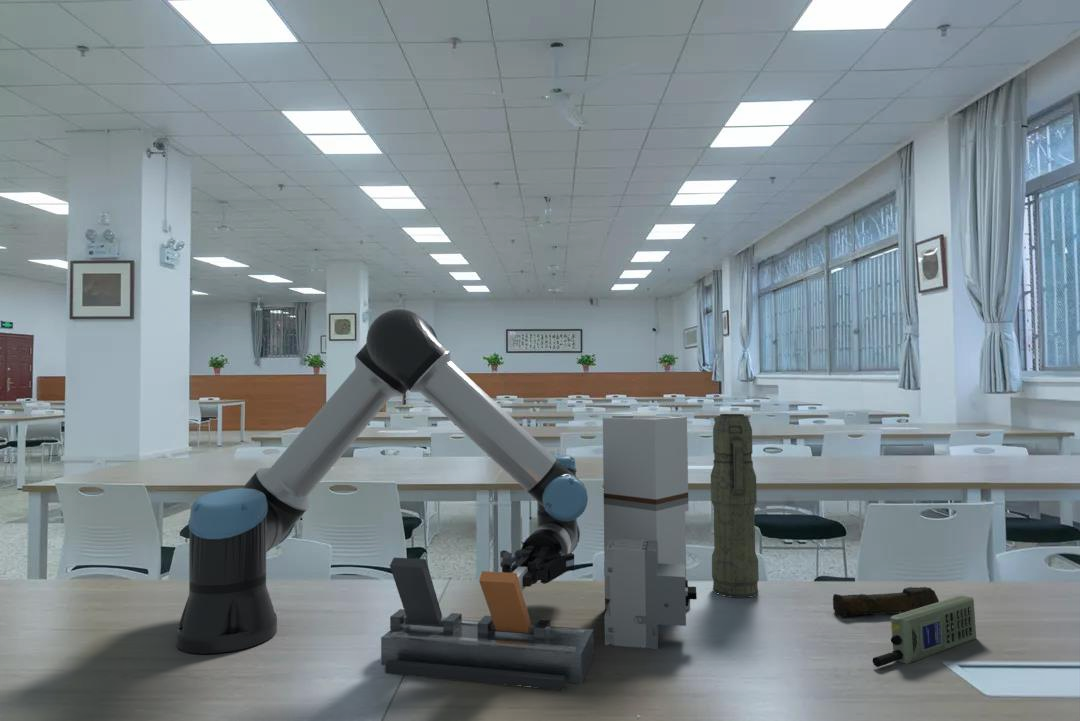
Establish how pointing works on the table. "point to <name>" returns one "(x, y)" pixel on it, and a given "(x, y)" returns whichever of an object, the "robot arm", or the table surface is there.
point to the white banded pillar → (646, 484)
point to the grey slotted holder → (490, 646)
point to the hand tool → (883, 602)
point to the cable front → (475, 674)
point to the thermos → (734, 508)
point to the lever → (505, 602)
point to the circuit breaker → (642, 593)
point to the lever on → (416, 592)
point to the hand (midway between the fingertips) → (512, 587)
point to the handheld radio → (930, 630)
